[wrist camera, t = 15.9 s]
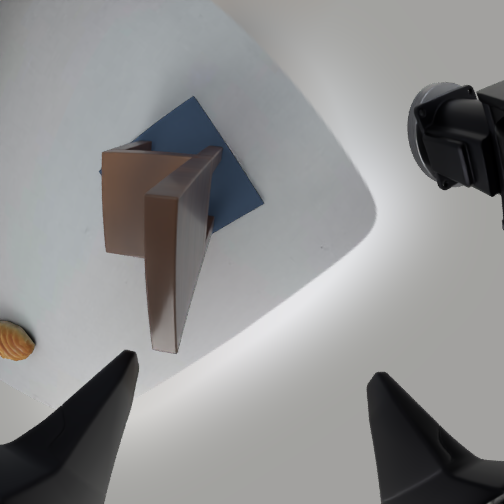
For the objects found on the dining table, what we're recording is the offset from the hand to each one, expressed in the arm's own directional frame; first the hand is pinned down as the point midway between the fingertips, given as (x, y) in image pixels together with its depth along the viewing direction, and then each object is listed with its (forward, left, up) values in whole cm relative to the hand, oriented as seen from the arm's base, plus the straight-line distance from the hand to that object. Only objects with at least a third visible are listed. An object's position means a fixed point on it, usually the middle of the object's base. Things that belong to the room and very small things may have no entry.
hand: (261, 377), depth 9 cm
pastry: (+38, -5, -13) cm, 41 cm away
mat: (+3, -6, -13) cm, 15 cm away
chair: (+3, -6, -13) cm, 14 cm away
